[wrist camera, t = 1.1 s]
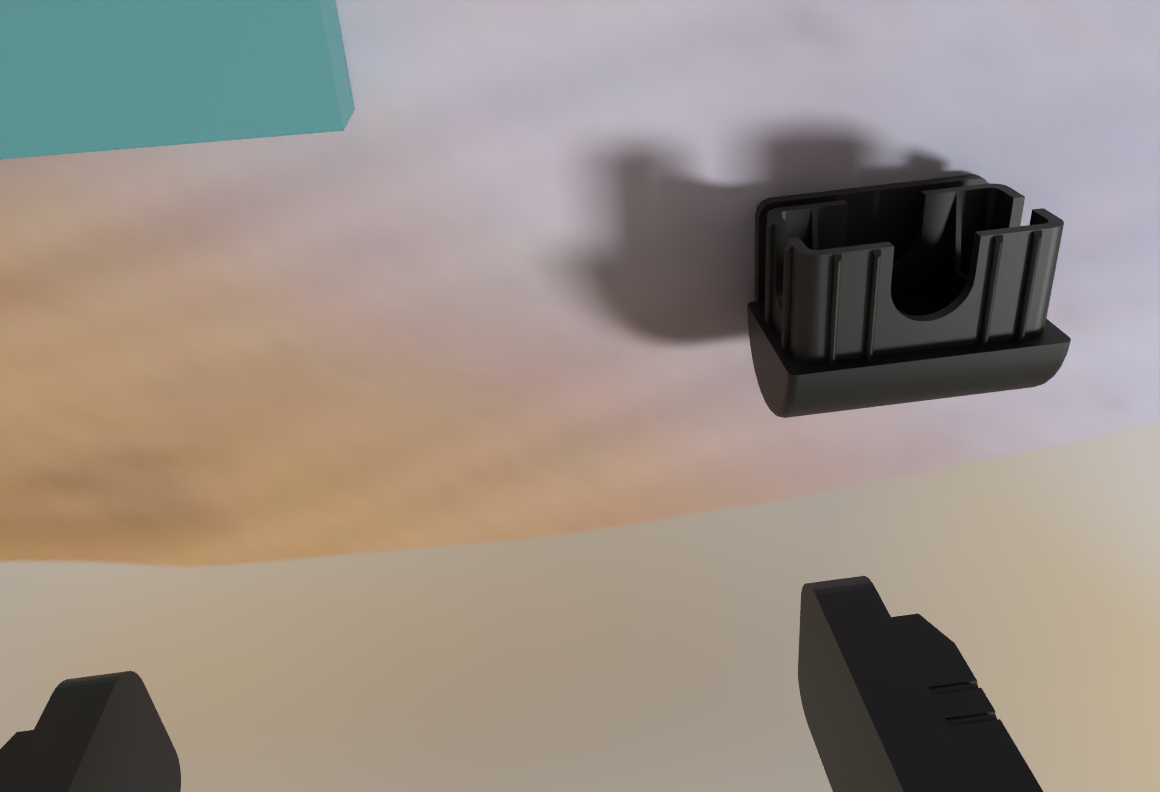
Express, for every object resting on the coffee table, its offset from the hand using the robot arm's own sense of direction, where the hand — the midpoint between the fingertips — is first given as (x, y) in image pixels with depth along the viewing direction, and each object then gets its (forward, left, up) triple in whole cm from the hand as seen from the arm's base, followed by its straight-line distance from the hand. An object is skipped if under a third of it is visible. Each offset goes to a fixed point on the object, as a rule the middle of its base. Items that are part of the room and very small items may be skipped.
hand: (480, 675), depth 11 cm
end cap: (+7, +15, -26) cm, 30 cm away
